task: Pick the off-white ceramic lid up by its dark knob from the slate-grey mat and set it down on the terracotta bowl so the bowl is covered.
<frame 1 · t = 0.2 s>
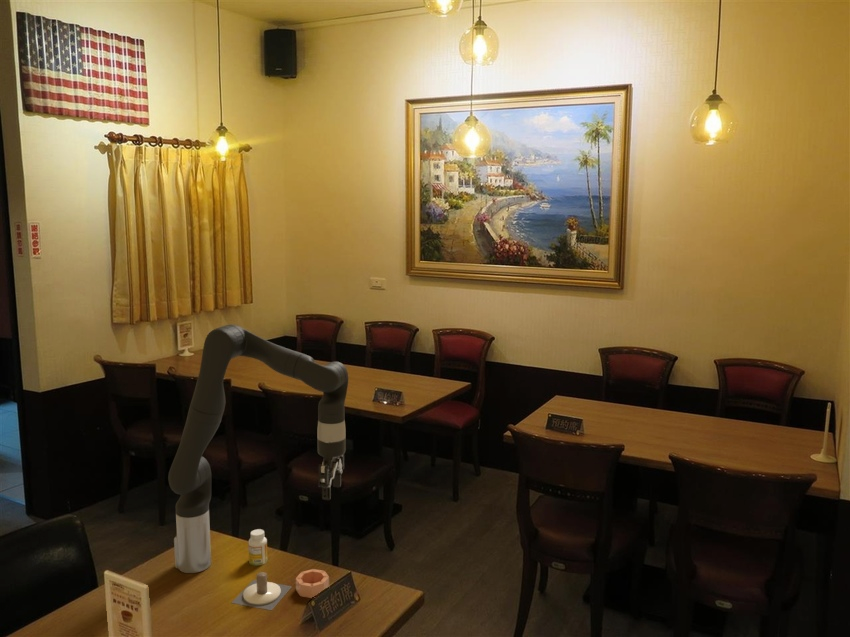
hand: (331, 493, 189), 28 cm above the table, fingers open, 8 cm apart
bowl: (312, 590, 193), on the table
mat: (262, 596, 190), on the table
supplement bottle: (258, 563, 208), on the table
lid: (262, 594, 190), point 1 cm above the table, touching mat
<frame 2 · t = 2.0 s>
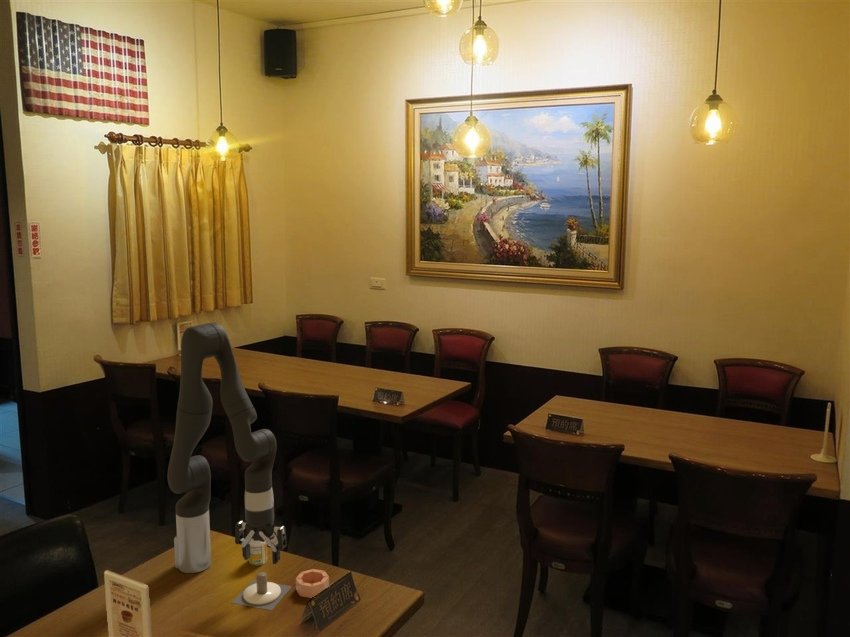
hand: (261, 560, 188), 11 cm above the table, fingers open, 8 cm apart
nothing on the table moved.
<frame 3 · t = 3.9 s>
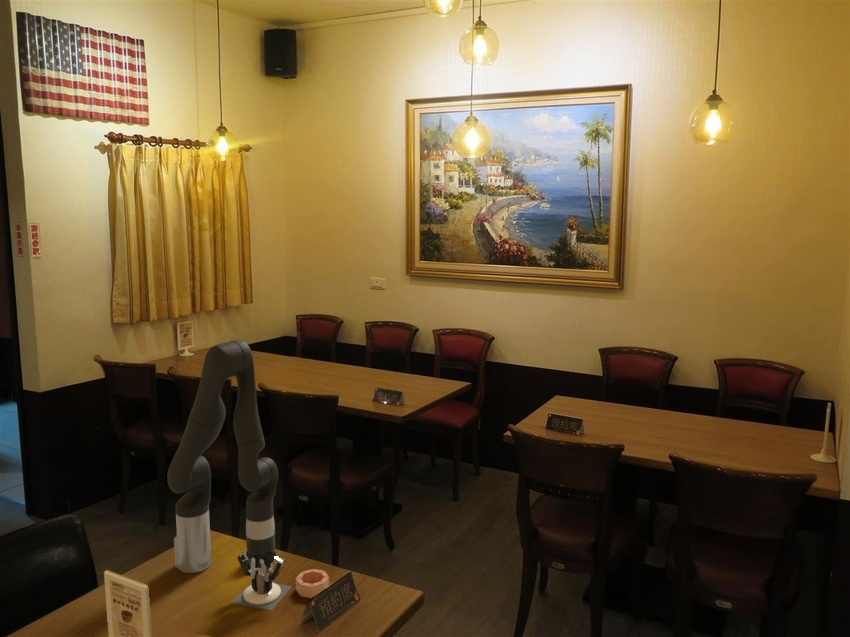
hand: (262, 590, 190), 2 cm above the table, fingers closed on lid, 2 cm apart
lid: (262, 594, 190), point 1 cm above the table, touching gripper, mat
everything else where it was.
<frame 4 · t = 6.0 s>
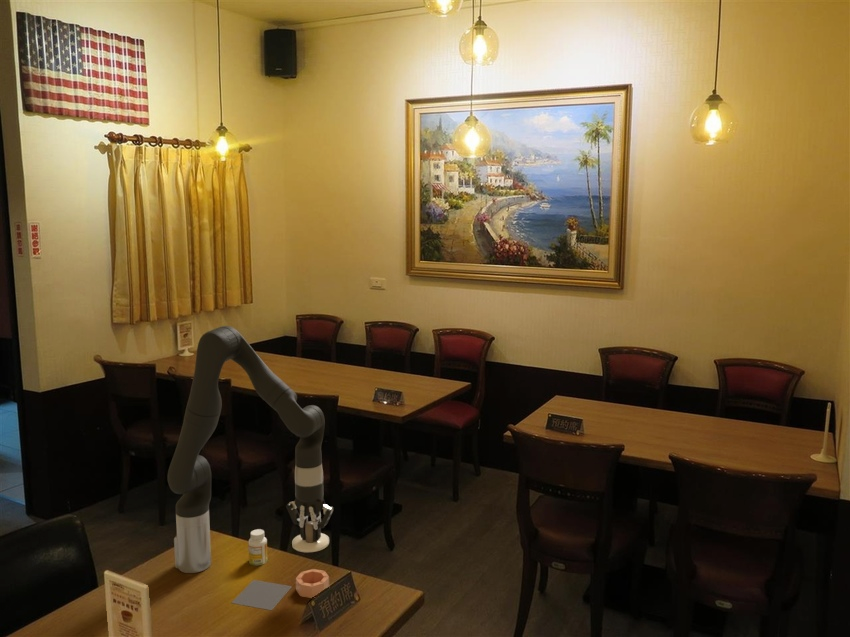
hand: (310, 539, 190), 16 cm above the table, fingers closed on lid, 2 cm apart
lid: (310, 543, 190), point 14 cm above the table, touching gripper
everything else where it was.
when the fingers open (6 cm above the table, at t = 8.3 s): lid drops 1 cm, resting on bowl.
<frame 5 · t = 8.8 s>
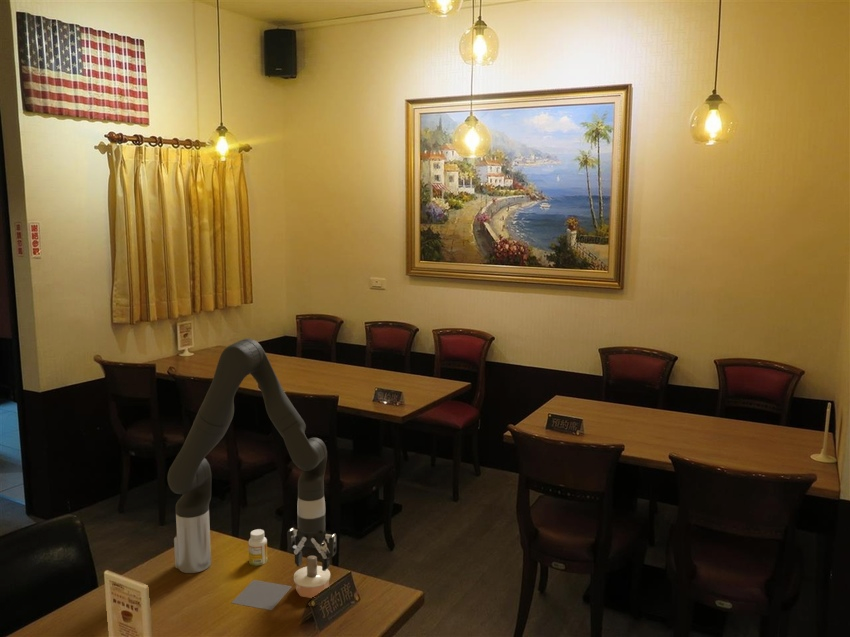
hand: (312, 567, 192), 7 cm above the table, fingers open, 7 cm apart
lid: (312, 577, 192), point 4 cm above the table, touching bowl
everything else where it was.
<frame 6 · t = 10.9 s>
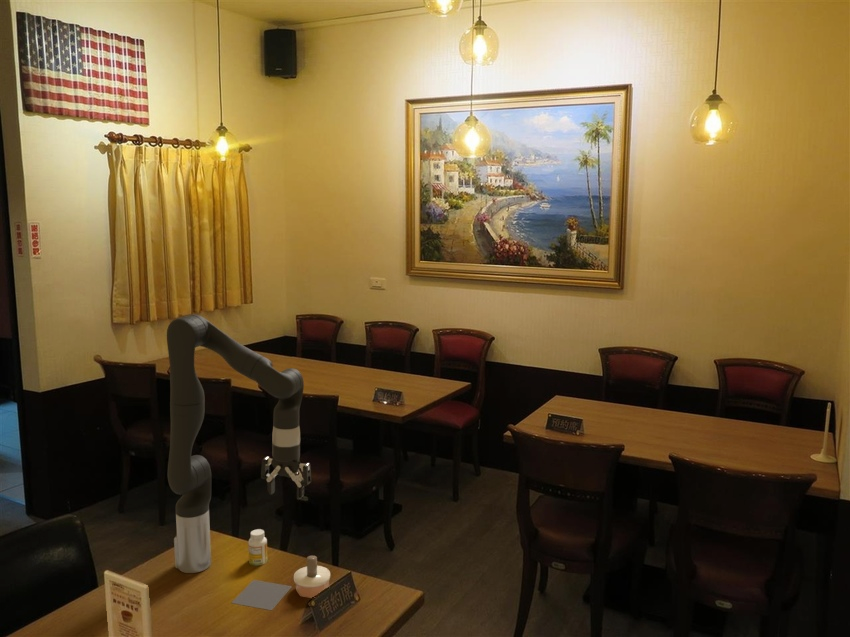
hand: (285, 495, 194), 25 cm above the table, fingers open, 8 cm apart
nothing on the table moved.
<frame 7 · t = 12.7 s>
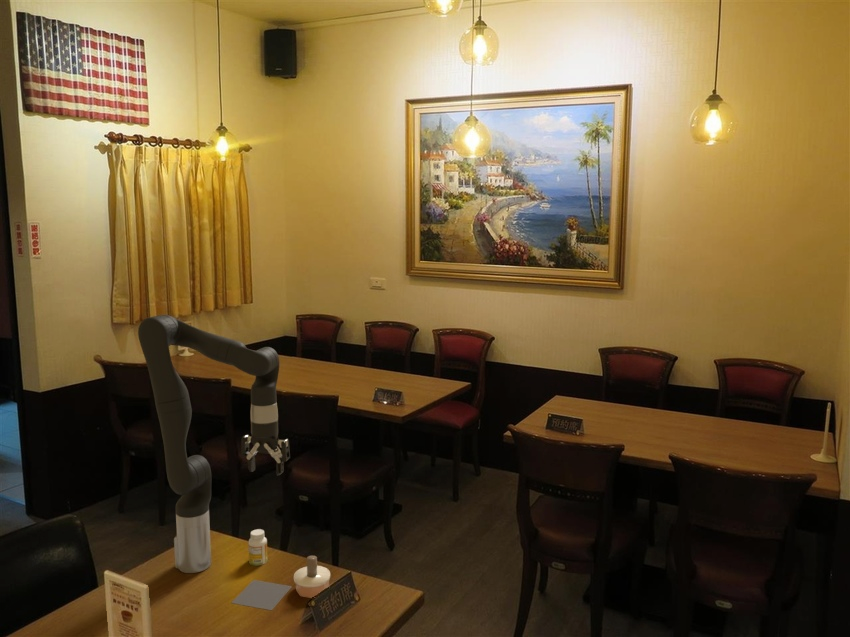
hand: (265, 472, 199), 30 cm above the table, fingers open, 8 cm apart
nothing on the table moved.
at the end: lid 0.1 cm off-centre on the bowl, point 4.0 cm above the bowl's base; lid tilted 0°; the gripper is holding nothing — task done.
